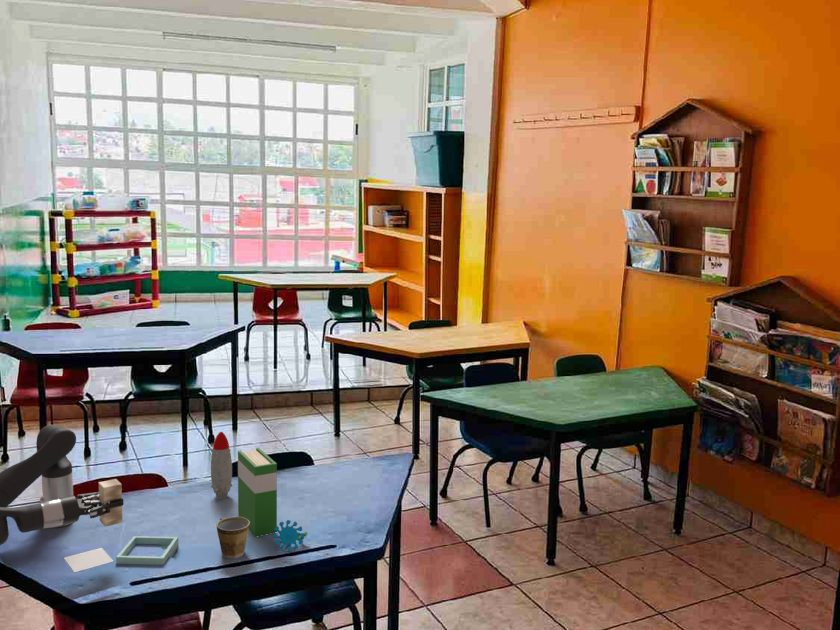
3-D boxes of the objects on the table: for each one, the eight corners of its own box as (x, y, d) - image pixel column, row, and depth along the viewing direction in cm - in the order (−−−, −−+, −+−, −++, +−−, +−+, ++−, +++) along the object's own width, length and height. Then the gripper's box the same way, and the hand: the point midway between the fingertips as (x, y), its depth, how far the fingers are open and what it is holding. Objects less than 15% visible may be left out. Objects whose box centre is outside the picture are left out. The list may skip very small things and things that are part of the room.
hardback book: (238, 517, 257) (237, 450, 253) (258, 512, 260) (258, 447, 257) (255, 537, 242) (254, 467, 238) (276, 532, 246) (276, 463, 242)
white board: (74, 577, 213) (74, 572, 213) (63, 562, 221) (63, 557, 221) (113, 565, 220) (113, 561, 220) (101, 552, 229) (101, 547, 228)
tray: (116, 568, 219) (115, 557, 219) (134, 546, 233) (133, 535, 232) (163, 569, 219) (163, 558, 219) (178, 547, 233) (178, 537, 233)
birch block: (105, 526, 217) (103, 487, 215) (99, 520, 220) (98, 482, 218) (122, 522, 220) (121, 484, 218) (117, 516, 223) (116, 478, 222)
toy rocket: (224, 490, 279) (224, 426, 275) (236, 497, 274) (235, 432, 270) (206, 495, 274) (205, 430, 270) (218, 502, 268) (217, 436, 264)
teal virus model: (273, 549, 230) (273, 518, 236) (270, 556, 234) (269, 525, 240) (308, 549, 234) (307, 519, 240) (304, 556, 238) (303, 526, 244)
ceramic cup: (256, 554, 230) (255, 524, 229) (227, 564, 223) (227, 533, 222) (234, 540, 239) (234, 510, 238) (206, 549, 232) (205, 519, 231)
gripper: (52, 515, 216) (112, 502, 227) (65, 533, 205) (128, 518, 216) (51, 491, 215) (112, 479, 226) (64, 508, 204) (127, 494, 215)
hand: (119, 498), depth 221 cm, fingers closed on birch block, 5 cm apart
